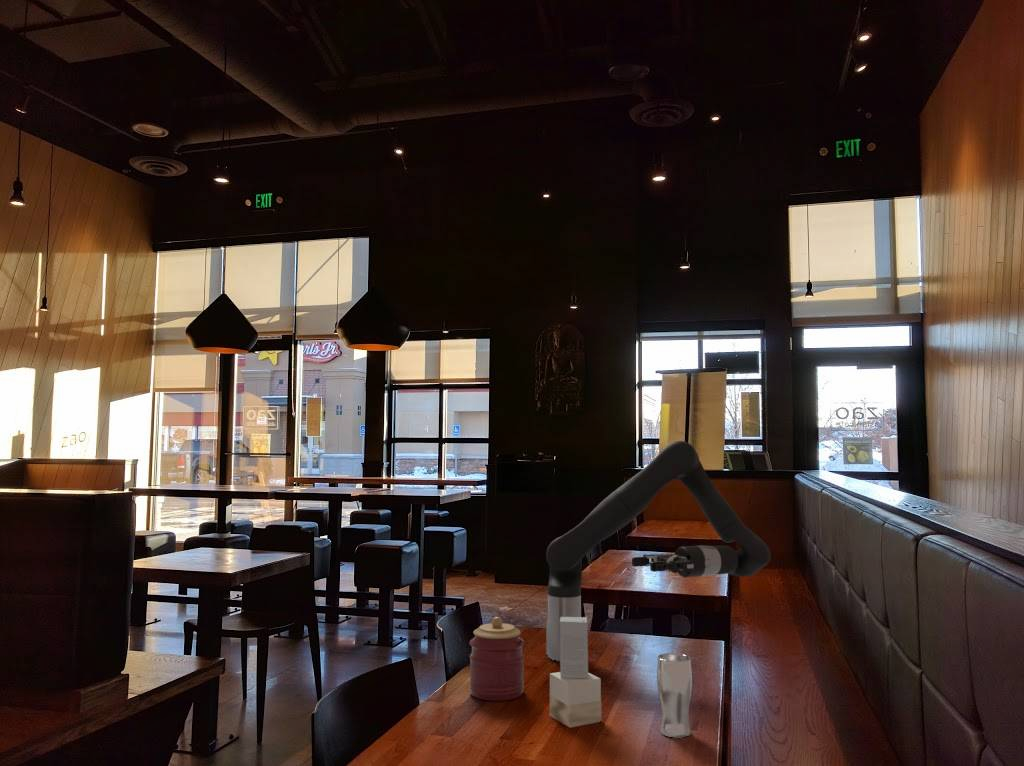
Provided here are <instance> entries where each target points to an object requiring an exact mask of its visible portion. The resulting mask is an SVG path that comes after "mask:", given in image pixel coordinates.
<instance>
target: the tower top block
mask: <svg viewBox="0 0 1024 766" xmlns="http://www.w3.org/2000/svg"><path fill="white" fill-rule="evenodd" d="M601 681H602V680H601V678H600V677H598V676H596V675H594V674H593V673H590V672H588V678H561V676H560V671H558V672H552V673H551V672H550V673H549V696H550V695H551V696H553V697H554V698H556V699H558V700H559V701H561V702H563V703H564V704H566V705H568V706H570V705H576V704H582V703H589V702H595V701H601V702H602V696H601V695H602V693H601V692H602V688H601V687H602V686H601V685H602V684H601Z"/></svg>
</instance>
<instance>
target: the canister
mask: <svg viewBox="0 0 1024 766" xmlns="http://www.w3.org/2000/svg"><path fill="white" fill-rule="evenodd" d="M472 633H473V635H474V637H473V638H471V639H470V640H469V645H470V646H471V653H470V654H469V659H470V661H469V662H470V666H469V667H470V668H469V669H470V671H469V672H470V673H469V676H470V677H469V683H468V684H469V686H468V687H469V692H470V695H472V696H473V697H474V698H476V699H478V700H479V699H480V700H483V701H492V702H497V701H498V702H499V701H500V702H501V701H511V700H514V699H517V698H519V697H521V696H522V695H523V694H524V689H525V685H524V684H525V681H524V660H525V656H524V654H523V649H522V648H523V646H524V645H525V641H524V640H523V639H522V638H521V637H520V635H521V630H520V629H518V628H516V627H515V626H514V625H513V624H510V623H503V619H502V617H499V616H494V617H493V618H492V619H491V622H490V623H484V624H481V625H480V626H478V628H476V629H474V630H473V632H472Z"/></svg>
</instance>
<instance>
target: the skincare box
mask: <svg viewBox="0 0 1024 766" xmlns="http://www.w3.org/2000/svg"><path fill="white" fill-rule="evenodd" d="M588 626H589V625H588V617H587V616H583V617H582V616H581V617H560V661H559V666H560V668H559V669H560V670H559V672H560V676H561V678H588V673H589V642H588V641H589V637H588V636H589V635H588V628H589V627H588Z"/></svg>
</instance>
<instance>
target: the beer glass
mask: <svg viewBox="0 0 1024 766" xmlns="http://www.w3.org/2000/svg"><path fill="white" fill-rule="evenodd" d="M691 663H692V662H691V657H690V656H688V655H685V654H682V653H669V652H668V653H661V654H659V655H657V666H656V667H657V669H656V682H657V683H656V684H657V691H658V696H659V698H658V699H659V702H660V707H661V723H660V729H659V732H661V733H660V734H661V735H662V734H663V735H662V736H664V735H665V737H666V736H668V737H667V738H669V737H674V738H673V739H676V737H677V738H679V737H686V736H689V735H690V736H691V727H690V721H689V711H690V710H689V709H690V702H691V697H692V689H693V688H692V687H693V675H692V674H693V673H692V664H691ZM690 736H689V737H690Z"/></svg>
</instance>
